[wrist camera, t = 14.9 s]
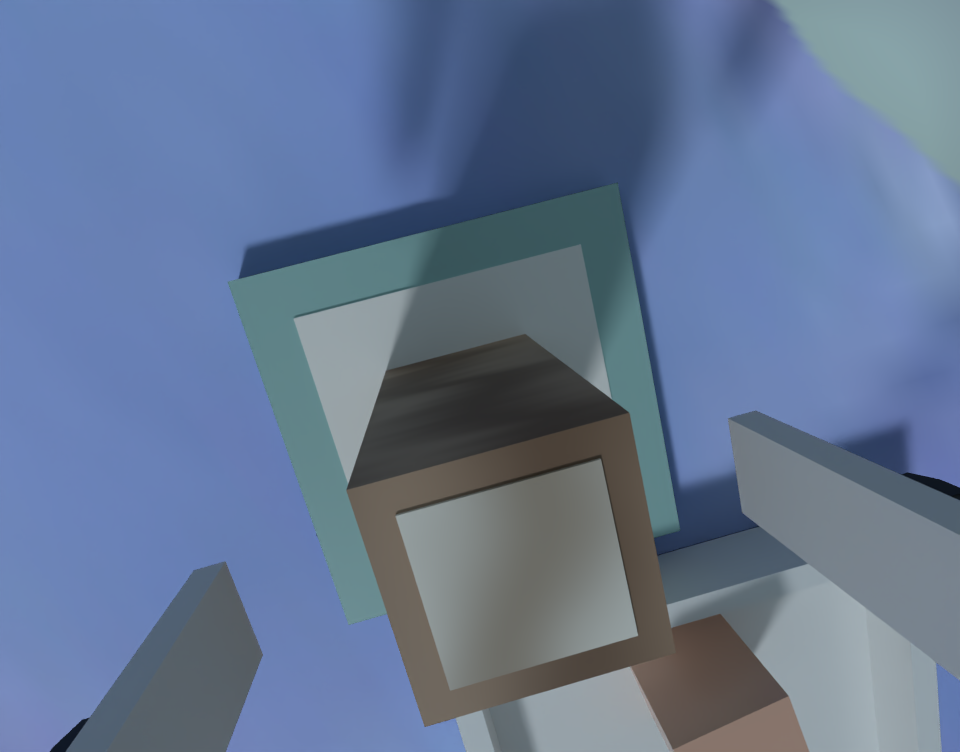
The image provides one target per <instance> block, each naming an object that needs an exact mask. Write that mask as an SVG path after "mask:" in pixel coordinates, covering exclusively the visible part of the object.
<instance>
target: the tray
mask: <svg viewBox="0 0 960 752" xmlns="http://www.w3.org/2000/svg"><path fill="white" fill-rule="evenodd" d="M657 557H658V562H659V567H660V573H661V578H662V583H663V588H664V593H665V598H666V604H667V609H668V614H669V619H670V624H671V628H673V627H676V626H680V625H683V624H687V623H690V622H693V621H697V620H700V619H704V618H707V617H710V616H714V615H717V614H721V615H722V616H723V617H724V619H725V620H726V621H727V622H728V623H729V625H730V626H731V627H732V628H733V629H734V631H735V632H736V633H737V634H738V635H739V637H740V638H741V639H742V640H743V641H744V643H745V644H746V645H747V646H748V648H749V649H750V650H751V651H752V652H753V654H754V655H755V656H756V657H757V658H758V660H759V661H760V662H761V663H762V664H763V666H764V667H765V668H766V669H767V670H768V672H769V673H770V674H771V675H772V676H773V678H774V679H775V680H776V681H777V682H778V684H779V685H780V686H781V687H782V688H783V690H784V691H785V692H786V693H787V694H788V696H789V698H790V700H791V703H792V706H793V709H794V711H795V714H796V717H797V720H798V722H799V725H800V728H801V730H802V733H803V736H804V739H805V741H806V744H807V747H808V749H809V752H941V736H940V720H939V704H938V688H937V672H936V662H935V661H934V660H933V659H931V658H930V657H929V656H927V655H926V654H925V653H924V652H922V651H921V650H920V649H918V648H917V647H916V646H914V645H913V644H912V643H911V642H909V641H908V640H907V639H905V638H904V637H903V636H901V635H900V634H899V633H898V632H896V631H895V630H894V629H892V628H891V627H890V626H888V625H887V624H886V623H885V622H883V621H882V620H881V619H879V618H878V617H877V616H876V615H874V614H873V613H872V612H870V611H869V610H868V609H866V608H865V607H864V606H863V605H861V604H860V603H859V602H857V601H856V600H855V599H853V598H852V597H851V596H850V595H848V594H847V593H846V592H844V591H843V590H842V589H840V588H839V587H838V586H837V585H835V584H834V583H833V582H831V581H830V580H829V579H827V578H826V577H825V576H824V575H822V574H821V573H820V572H818V571H817V570H816V569H814V568H813V567H812V566H811V565H809V564H808V563H807V562H805V561H804V560H803V559H802V558H800V557H799V556H798V555H796V554H795V553H794V552H792V551H791V550H790V549H789V548H787V547H786V546H785V545H783V544H782V543H781V542H779V541H778V540H777V539H776V538H774V537H773V536H772V535H770V534H769V533H768V532H766V531H765V530H764V529H763V528H761V527H760V526H759V527H756V528H752V529H749V530H745V531H742V532H738V533H735V534H731V535H728V536H724V537H721V538H717V539H714V540H710V541H707V542H703V543H700V544H696V545H693V546H689V547H686V548H682V549H679V550H675V551H672V552H668V553H665V554H661V555H658V556H657ZM456 721H457V724H458V727H459V730H460V733H461V737H462V740H463V743H464V746H465V749H466V752H669V750H668V748H667V746H666V744H665V742H664V740H663V738H662V736H661V733H660V731H659V729H658V727H657V725H656V723H655V721H654V719H653V717H652V715H651V713H650V711H649V708H648V706H647V704H646V702H645V699H644V697H643V695H642V693H641V691H640V688H639V686H638V684H637V682H636V679H635V677H634V675H633V673H632V671H631V668H630V667H627V668H623V669H620V670H617V671H613V672H610V673H606V674H603V675H600V676H596V677H593V678H589V679H586V680H583V681H579V682H576V683H572V684H569V685H566V686H562V687H559V688H555V689H552V690H549V691H545V692H542V693H538V694H535V695H532V696H528V697H525V698H521V699H518V700H515V701H511V702H508V703H505V704H501V705H498V706H494V707H491V708H488V709H484V710H481V711H477V712H474V713H471V714H467V715H464V716H460V717H457V718H456Z"/></svg>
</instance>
